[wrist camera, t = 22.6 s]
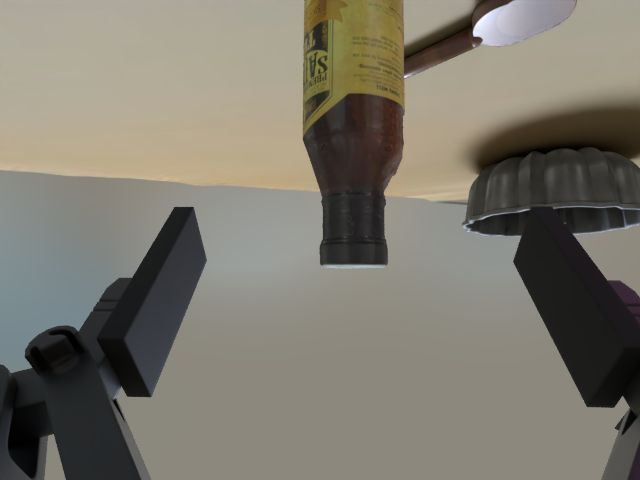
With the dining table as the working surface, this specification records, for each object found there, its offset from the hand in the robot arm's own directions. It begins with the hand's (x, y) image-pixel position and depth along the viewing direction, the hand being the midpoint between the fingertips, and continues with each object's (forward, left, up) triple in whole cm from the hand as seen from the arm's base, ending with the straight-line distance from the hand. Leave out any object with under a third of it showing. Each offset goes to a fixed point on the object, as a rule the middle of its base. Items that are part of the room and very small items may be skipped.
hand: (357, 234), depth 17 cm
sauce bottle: (-4, -6, -19) cm, 21 cm away
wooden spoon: (-4, -18, -19) cm, 27 cm away
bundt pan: (-2, -59, -19) cm, 62 cm away
